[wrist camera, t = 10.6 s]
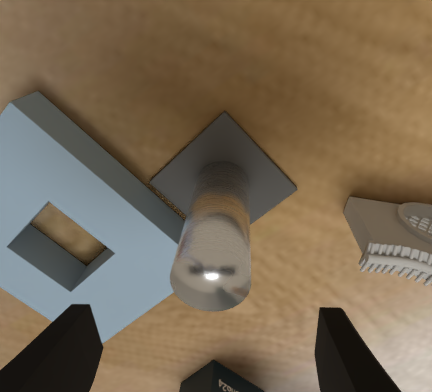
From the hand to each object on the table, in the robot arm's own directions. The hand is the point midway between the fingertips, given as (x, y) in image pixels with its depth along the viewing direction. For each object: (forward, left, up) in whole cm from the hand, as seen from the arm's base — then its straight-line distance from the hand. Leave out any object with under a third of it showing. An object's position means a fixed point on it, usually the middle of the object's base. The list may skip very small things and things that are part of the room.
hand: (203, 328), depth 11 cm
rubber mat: (0, 0, -10) cm, 10 cm away
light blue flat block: (-4, -9, -10) cm, 14 cm away
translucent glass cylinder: (0, 0, -10) cm, 10 cm away
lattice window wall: (+10, +8, -11) cm, 17 cm away
